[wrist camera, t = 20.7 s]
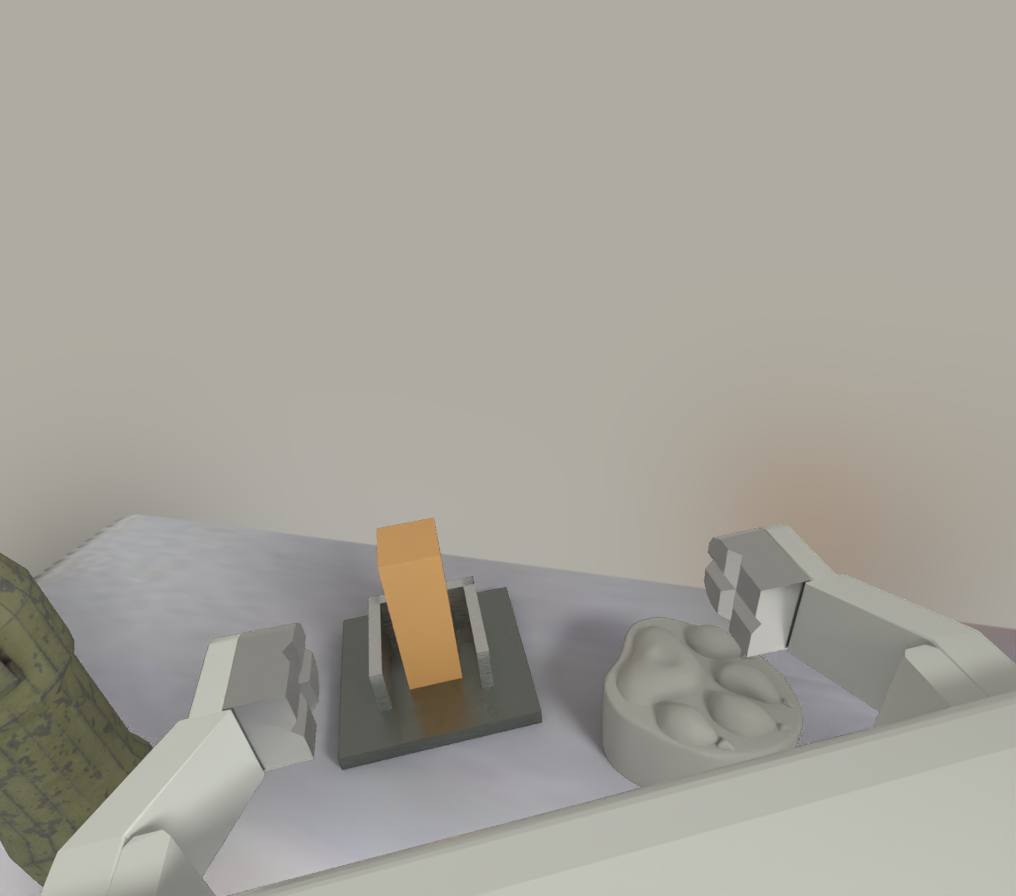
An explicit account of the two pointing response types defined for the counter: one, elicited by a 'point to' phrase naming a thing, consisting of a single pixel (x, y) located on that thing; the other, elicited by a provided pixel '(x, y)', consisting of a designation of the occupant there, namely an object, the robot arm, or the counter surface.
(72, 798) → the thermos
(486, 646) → the grey rail base plate
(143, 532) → the counter surface
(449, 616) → the tall orange pillar
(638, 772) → the lumpy-topped squat cylinder
